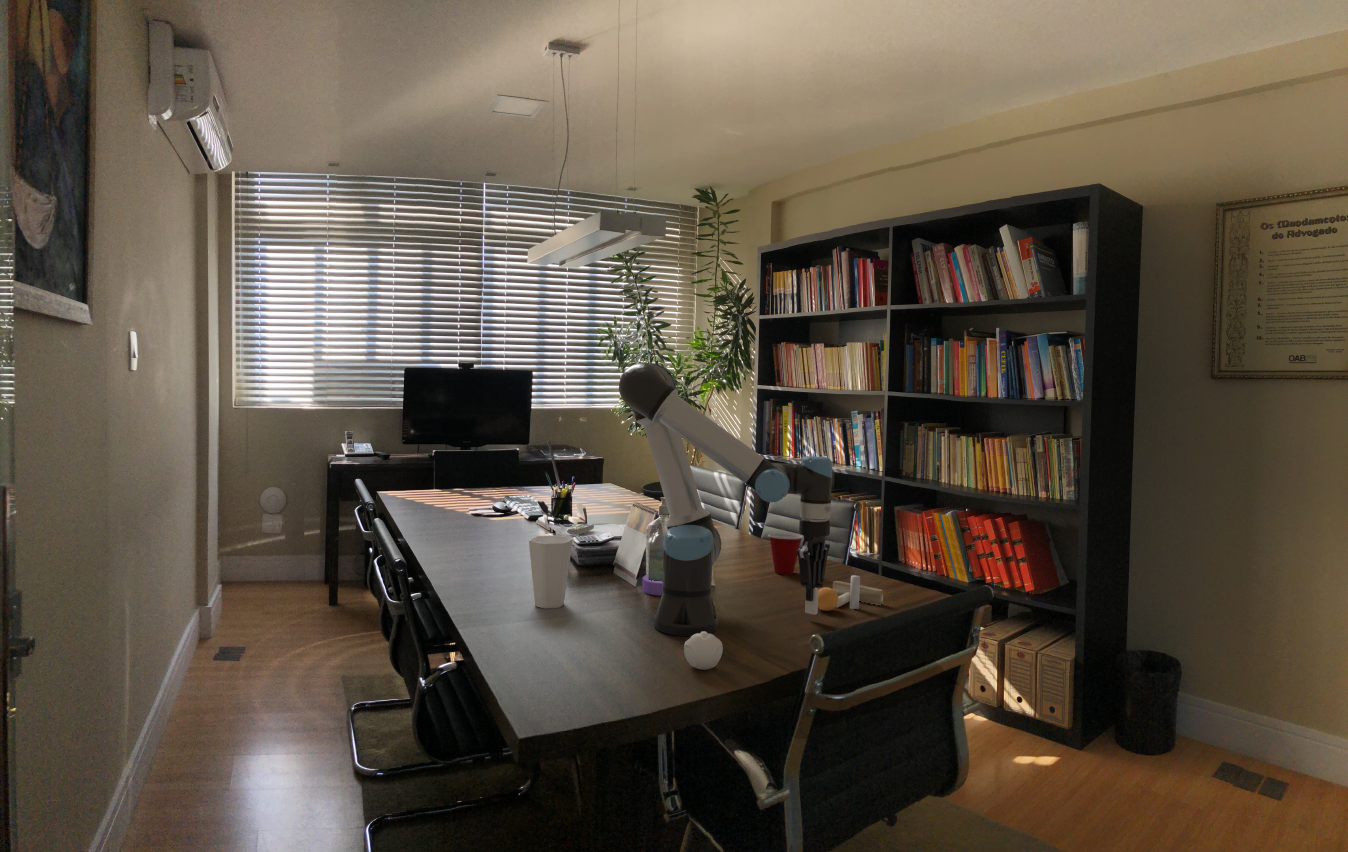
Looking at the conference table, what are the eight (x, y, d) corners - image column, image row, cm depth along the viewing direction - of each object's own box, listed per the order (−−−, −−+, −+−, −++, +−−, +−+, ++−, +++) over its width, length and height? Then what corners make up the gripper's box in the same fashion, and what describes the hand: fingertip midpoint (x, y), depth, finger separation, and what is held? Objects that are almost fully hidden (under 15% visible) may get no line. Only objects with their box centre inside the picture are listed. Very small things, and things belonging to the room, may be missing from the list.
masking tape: (647, 597, 217) (648, 583, 217) (638, 586, 229) (638, 573, 228) (689, 595, 221) (689, 581, 220) (677, 585, 232) (678, 571, 232)
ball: (841, 603, 211) (836, 615, 206) (819, 602, 214) (813, 614, 209) (838, 583, 209) (833, 595, 204) (816, 582, 212) (810, 594, 207)
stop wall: (879, 605, 215) (880, 591, 215) (832, 595, 224) (832, 581, 223) (882, 604, 217) (883, 589, 216) (835, 594, 225) (836, 580, 225)
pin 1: (833, 596, 213) (846, 590, 220) (830, 604, 213) (843, 597, 220) (841, 601, 211) (854, 595, 218) (837, 609, 212) (850, 602, 219)
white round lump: (720, 662, 168) (721, 626, 168) (724, 675, 160) (725, 637, 160) (682, 661, 168) (683, 625, 167) (684, 675, 160) (685, 636, 160)
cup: (560, 612, 200) (562, 544, 199) (522, 609, 202) (523, 542, 201) (575, 600, 211) (576, 536, 210) (538, 597, 213) (540, 533, 212)
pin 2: (854, 609, 210) (856, 577, 210) (847, 607, 212) (848, 575, 212) (860, 608, 212) (862, 576, 211) (853, 606, 214) (855, 574, 213)
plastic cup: (800, 569, 255) (802, 531, 254) (802, 577, 244) (804, 538, 243) (766, 567, 256) (767, 530, 255) (766, 575, 245) (768, 536, 244)
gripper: (815, 524, 191) (811, 621, 192) (840, 517, 201) (837, 610, 202) (788, 520, 196) (784, 615, 197) (814, 514, 206) (810, 604, 207)
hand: (811, 612), depth 200 cm, fingers closed
